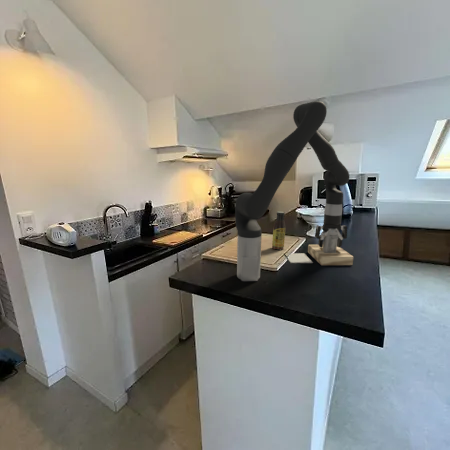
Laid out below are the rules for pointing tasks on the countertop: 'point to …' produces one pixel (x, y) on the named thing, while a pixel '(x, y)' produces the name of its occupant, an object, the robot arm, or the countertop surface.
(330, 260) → the socket block
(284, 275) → the countertop surface
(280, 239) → the sauce bottle
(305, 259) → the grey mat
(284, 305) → the countertop surface
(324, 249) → the energy drink can
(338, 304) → the countertop surface
